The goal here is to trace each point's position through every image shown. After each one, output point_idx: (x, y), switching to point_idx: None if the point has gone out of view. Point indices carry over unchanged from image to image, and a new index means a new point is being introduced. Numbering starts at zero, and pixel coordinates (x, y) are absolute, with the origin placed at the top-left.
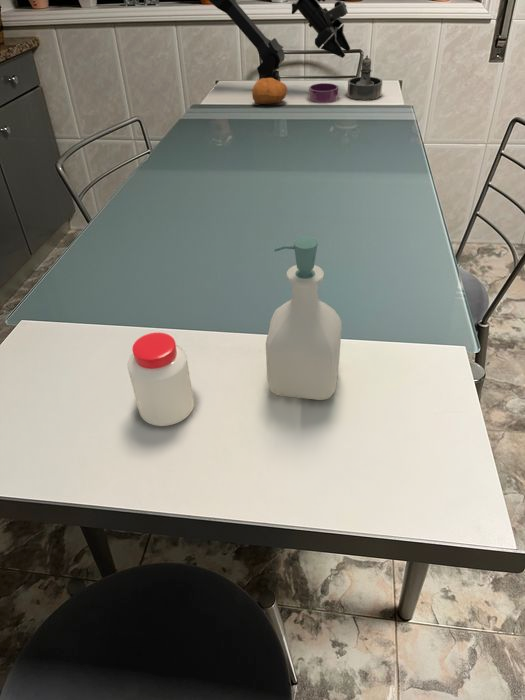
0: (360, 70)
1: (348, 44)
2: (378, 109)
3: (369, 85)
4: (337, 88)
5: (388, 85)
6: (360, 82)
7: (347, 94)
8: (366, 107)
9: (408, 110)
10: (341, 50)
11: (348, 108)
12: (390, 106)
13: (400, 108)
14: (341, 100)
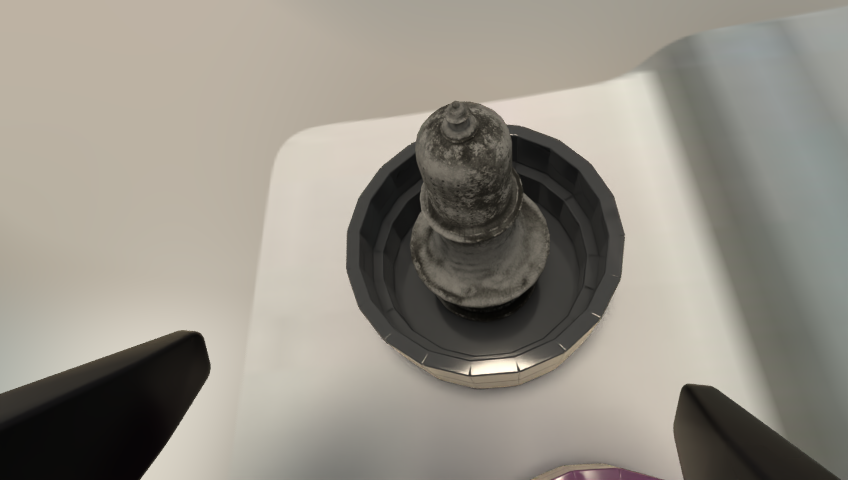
0: (474, 240)
1: (118, 356)
2: (774, 159)
3: (601, 189)
4: (644, 474)
5: (275, 161)
6: (511, 266)
7: (519, 384)
8: (756, 231)
9: (733, 26)
10: (831, 476)
11: (833, 353)
12: (685, 108)
13: (708, 61)
14: (629, 427)
